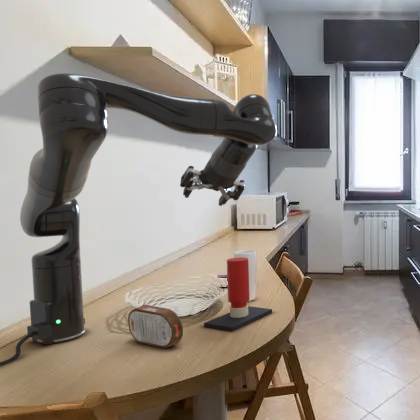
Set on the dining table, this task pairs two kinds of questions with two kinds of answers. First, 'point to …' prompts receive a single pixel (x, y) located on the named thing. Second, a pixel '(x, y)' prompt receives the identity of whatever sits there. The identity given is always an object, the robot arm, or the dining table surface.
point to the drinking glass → (252, 269)
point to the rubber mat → (237, 319)
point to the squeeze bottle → (238, 286)
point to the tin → (155, 326)
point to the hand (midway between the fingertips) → (203, 198)
